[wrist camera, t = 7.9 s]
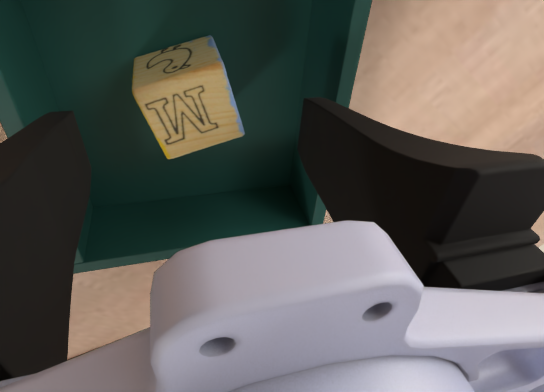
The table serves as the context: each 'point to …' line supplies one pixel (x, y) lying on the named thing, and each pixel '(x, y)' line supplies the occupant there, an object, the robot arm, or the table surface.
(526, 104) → the table surface
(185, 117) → the alphabet block
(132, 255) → the tray
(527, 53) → the table surface
